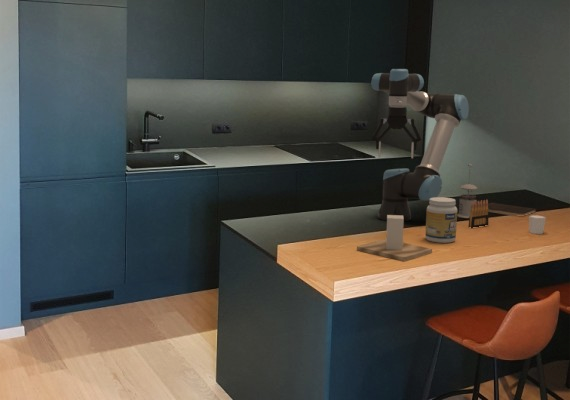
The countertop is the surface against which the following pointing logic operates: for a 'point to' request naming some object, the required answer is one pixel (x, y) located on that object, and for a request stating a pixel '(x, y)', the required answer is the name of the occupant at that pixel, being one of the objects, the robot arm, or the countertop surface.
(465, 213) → the french press
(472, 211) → the ammunition clip
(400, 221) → the off-white block
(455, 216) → the supplement tub
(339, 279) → the countertop surface
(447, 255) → the countertop surface
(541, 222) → the white cup
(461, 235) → the countertop surface
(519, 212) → the hardcover book
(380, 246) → the wooden board
